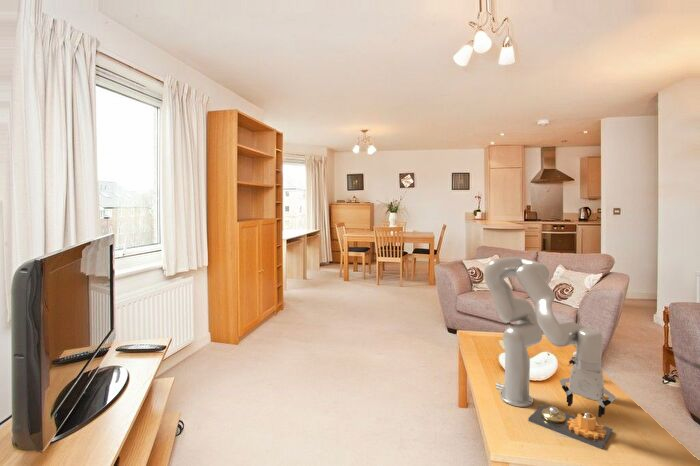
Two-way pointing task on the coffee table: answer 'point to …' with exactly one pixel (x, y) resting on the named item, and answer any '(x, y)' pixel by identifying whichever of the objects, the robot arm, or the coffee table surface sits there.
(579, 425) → the planet gear
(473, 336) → the coffee table surface
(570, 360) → the grandmother figurine
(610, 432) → the carrier plate
